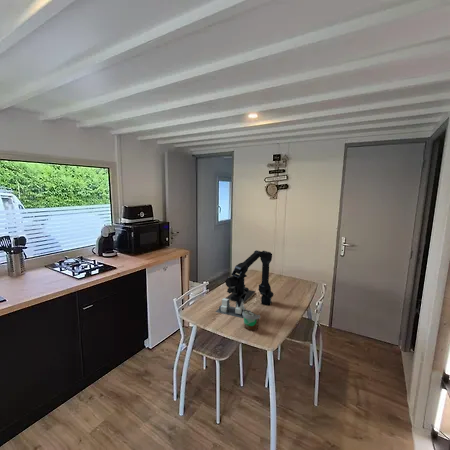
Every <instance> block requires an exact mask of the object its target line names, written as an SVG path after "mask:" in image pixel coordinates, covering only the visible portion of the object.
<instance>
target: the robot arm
mask: <svg viewBox="0 0 450 450" xmlns="http://www.w3.org/2000/svg"><path fill="white" fill-rule="evenodd" d="M259 258H260V262H261V263H262V265H261V267H262V269H261V274H262V275H261V282H260V284H258V292H259V294H260V295H261V298H260V302H261V303H260V304H261V305H265V306H271V304H272V303H273V302H272V298H273V297H274V292H273V291H271V290H272V289H271V288H272V287H271V285H270V282H269V280H270V279H269V278H270V263H271V262H272V259H273V253H272V252H271V251H267V250H262V251H260V250H255V251H253V253H252V254H251V255H250V256H248V257H247V258H246V259H245V260H244V261H243V262H240V263H238V264H236V265H235V266H234V268H233V271H232V272H231V274H230V275H231V276H227V278H226V280H225V285H226V287H227V293H228V294H231V293H233V292H234V293H235V294H234V295H232V296H231V300H232V302H235V301H236V302H237V305H238V307H240V305H241V302H242V301H244V299H245V297H246V295H247V294H245V291H246V292H247V293H248V292H249V290H250V289H249V287H247V286H246V284H245V278H246V277H248V276H247V275H246V273H247V272H248V271H249V268H250V267H251V266H252V265H253V264H254V263H255V262H256V261H257V260H258V259H259ZM236 293H237V294H236ZM231 300H230V301H231ZM236 302H235V303H236Z"/></svg>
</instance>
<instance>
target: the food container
mask: <svg viewBox="0 0 450 450" xmlns="http://www.w3.org/2000/svg"><path fill="white" fill-rule="evenodd" d="M247 310H248V309H246V308H245V307H244V310H243V313H242V315H243V317H244V318H243V326H244V328H245V330H247V331H250V332H254V331H258V330H259V325H260V319H261V314H256V313H254V312H253V311H251V310H250V311H251V312H250V311H247Z"/></svg>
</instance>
